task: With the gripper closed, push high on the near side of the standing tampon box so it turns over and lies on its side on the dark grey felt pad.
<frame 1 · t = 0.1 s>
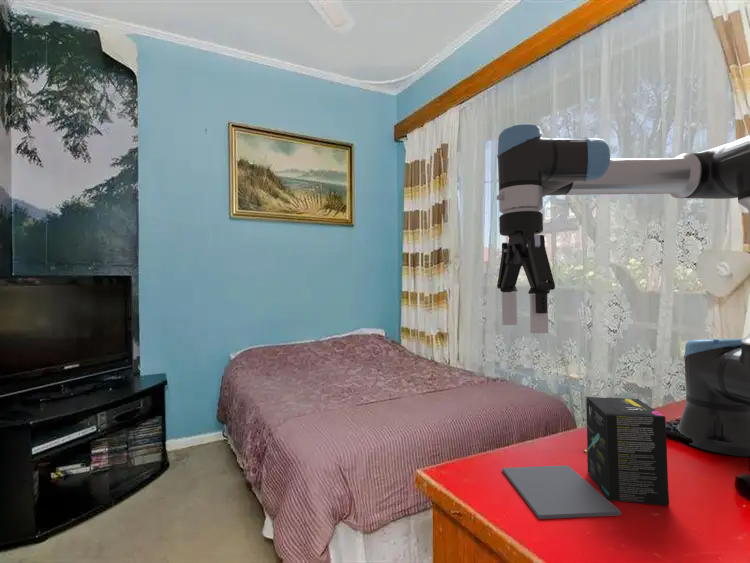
hand: (523, 328, 74), 28 cm above the table, tool pointing down, fingers open, 13 cm apart
tampon box: (625, 489, 71), on the table
dice set: (599, 457, 85), on the table
felt pad: (555, 490, 71), on the table
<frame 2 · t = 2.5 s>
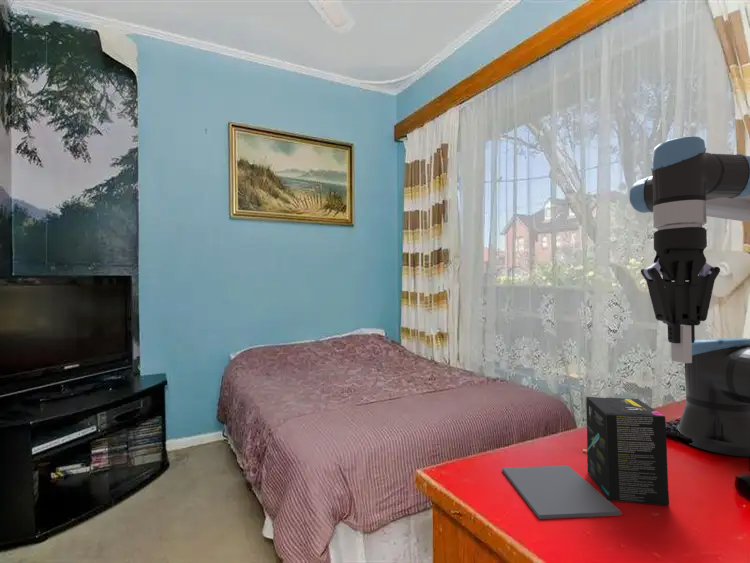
hand: (681, 361, 72), 22 cm above the table, tool pointing down, fingers closed
nothing on the table moved.
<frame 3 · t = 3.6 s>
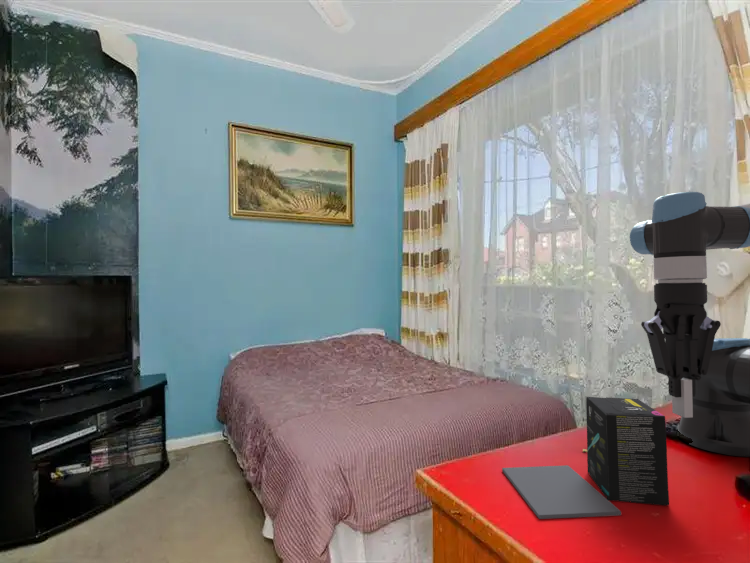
hand: (682, 414, 72), 12 cm above the table, tool pointing down, fingers closed
nothing on the table moved.
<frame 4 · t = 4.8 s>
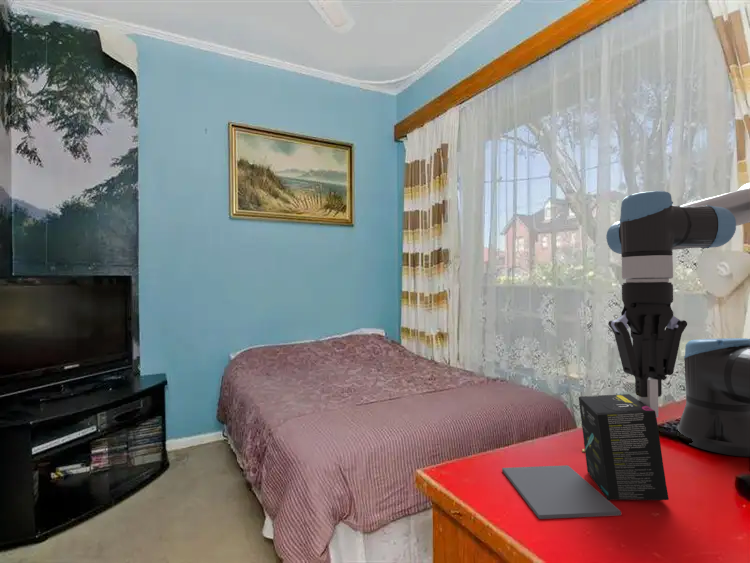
hand: (648, 414, 71), 13 cm above the table, tool pointing down, fingers closed
tampon box: (625, 486, 71), on the table, touching gripper
everything else where it was.
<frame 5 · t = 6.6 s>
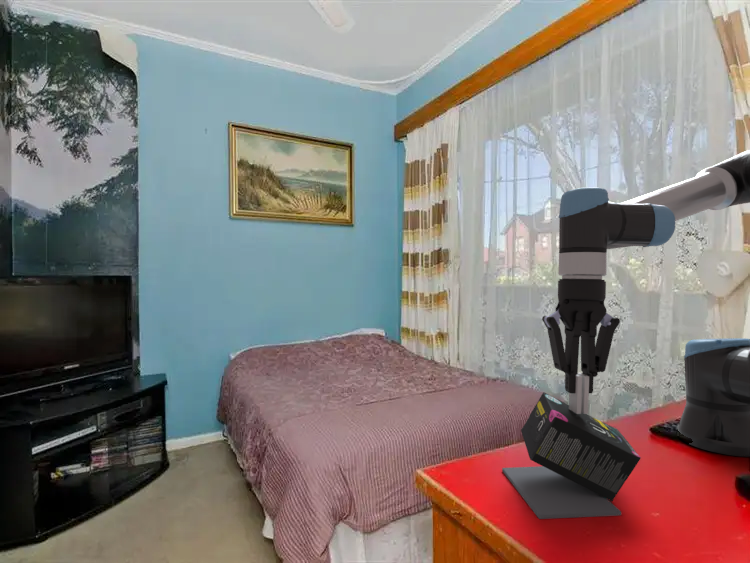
hand: (578, 411, 72), 14 cm above the table, tool pointing down, fingers closed
tampon box: (616, 463, 71), point 4 cm above the table, touching felt pad, gripper
everything else where it was.
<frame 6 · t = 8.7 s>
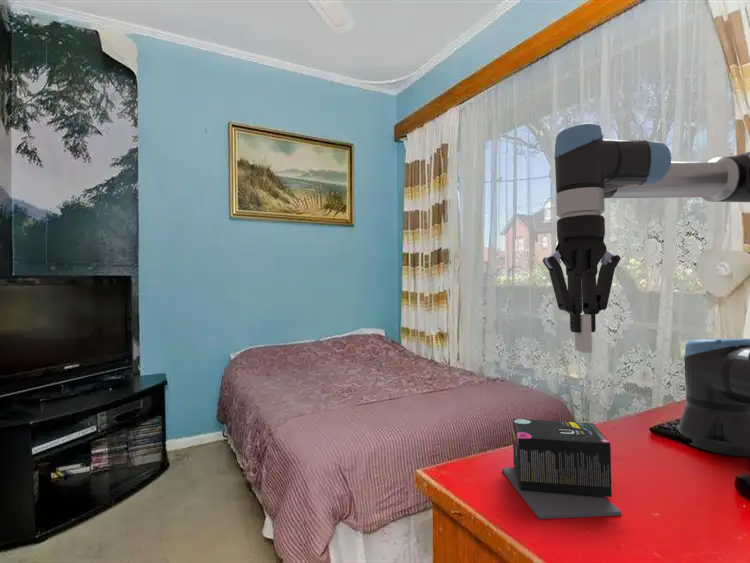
hand: (583, 351, 71), 24 cm above the table, tool pointing down, fingers closed
tampon box: (603, 457, 72), point 5 cm above the table, touching felt pad
everything else where it was.
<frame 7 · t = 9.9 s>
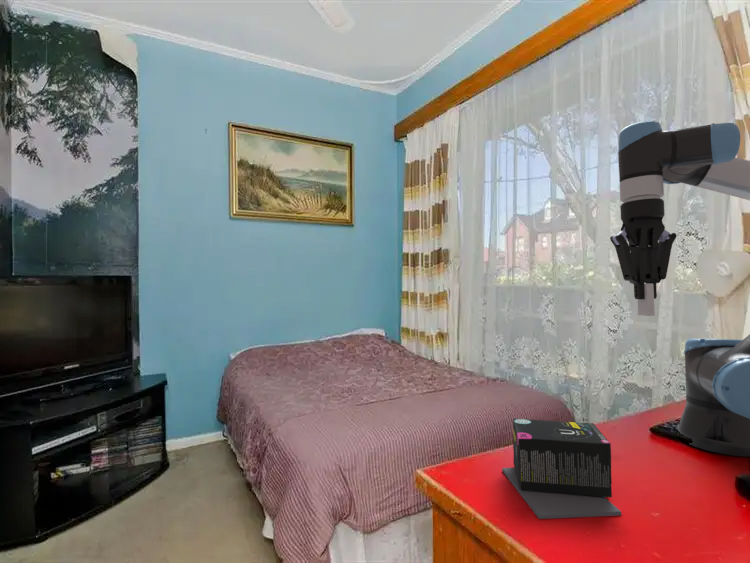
hand: (646, 315, 83), 29 cm above the table, tool pointing down, fingers closed
nothing on the table moved.
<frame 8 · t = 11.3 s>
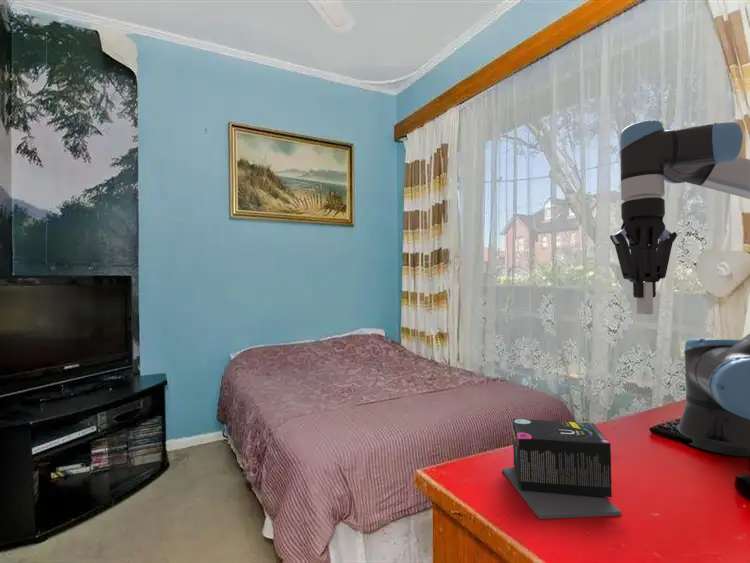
hand: (644, 313, 84), 29 cm above the table, tool pointing down, fingers closed
nothing on the table moved.
at the end: tampon box tilted 90°; tampon box inside the target area (4.0 cm from its centre), point 5.2 cm above the table; tampon box touching felt pad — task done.
